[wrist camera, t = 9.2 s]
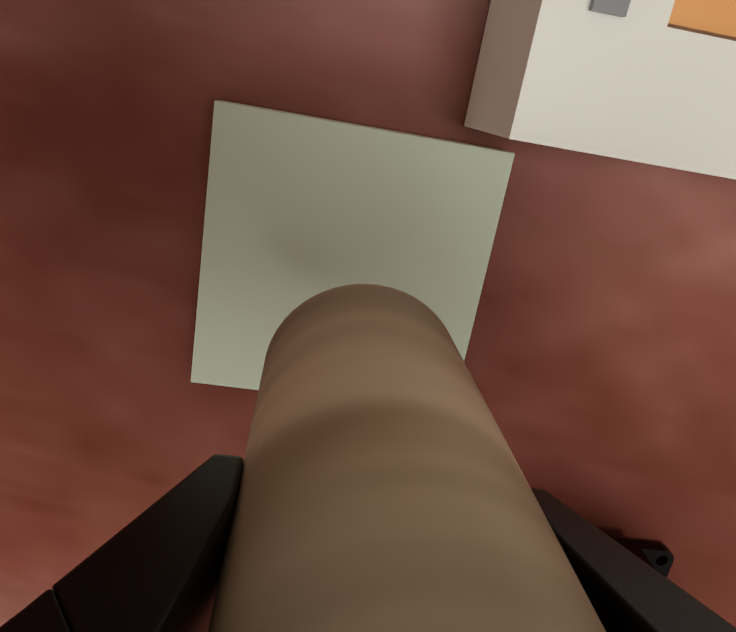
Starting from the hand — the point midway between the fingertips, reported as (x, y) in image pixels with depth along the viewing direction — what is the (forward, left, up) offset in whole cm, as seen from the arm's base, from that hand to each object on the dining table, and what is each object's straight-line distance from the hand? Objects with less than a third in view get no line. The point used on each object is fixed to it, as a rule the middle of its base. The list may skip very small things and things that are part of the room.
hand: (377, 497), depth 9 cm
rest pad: (0, 0, -12) cm, 13 cm away
